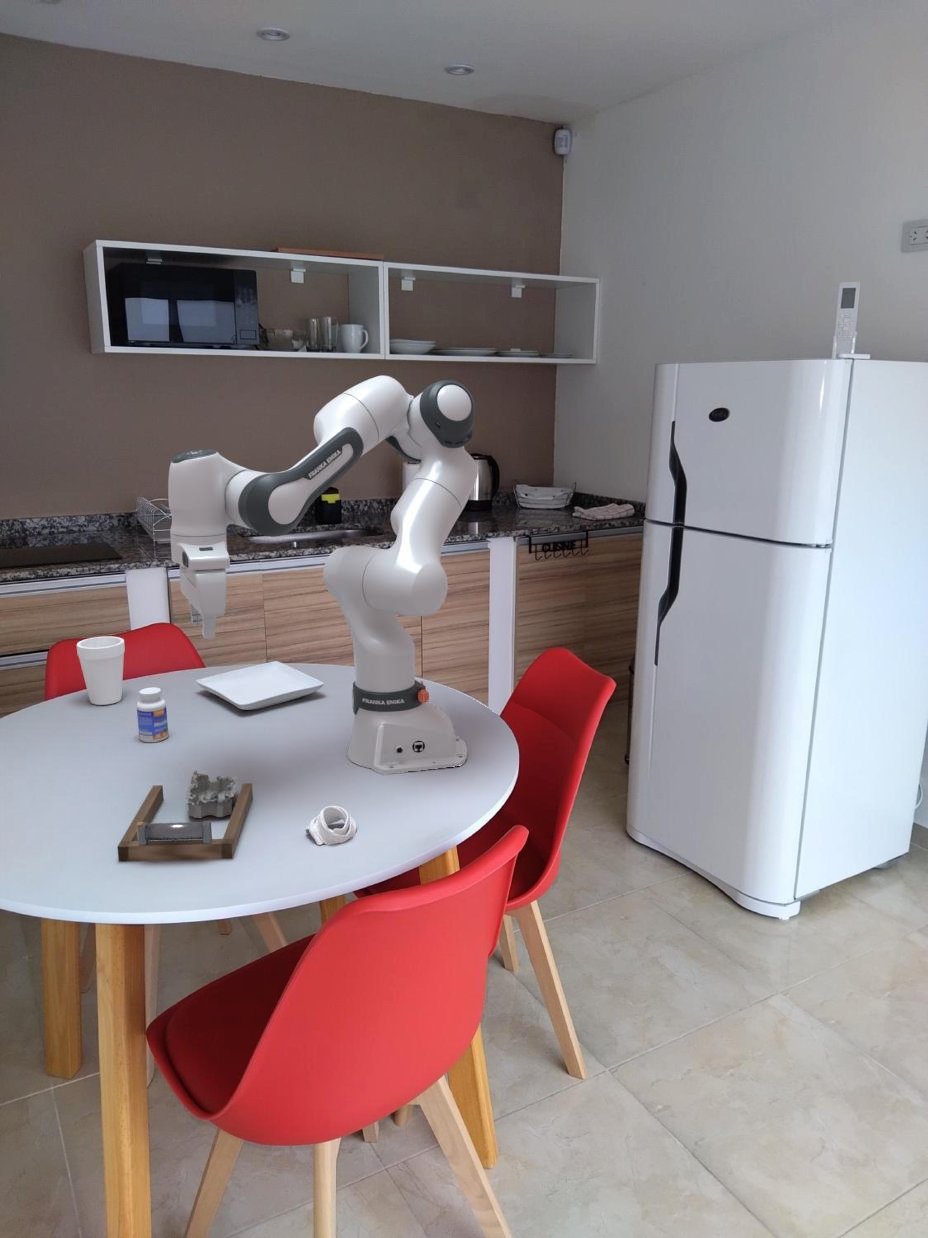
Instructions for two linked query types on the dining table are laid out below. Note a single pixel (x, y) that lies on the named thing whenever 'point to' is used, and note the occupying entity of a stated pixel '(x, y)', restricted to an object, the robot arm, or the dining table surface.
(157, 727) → the pill bottle
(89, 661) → the foam cup
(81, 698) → the dining table surface
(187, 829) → the winch
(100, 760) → the dining table surface
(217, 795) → the egg carton
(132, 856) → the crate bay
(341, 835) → the white crumpled cloth
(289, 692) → the salad plate
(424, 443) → the robot arm
